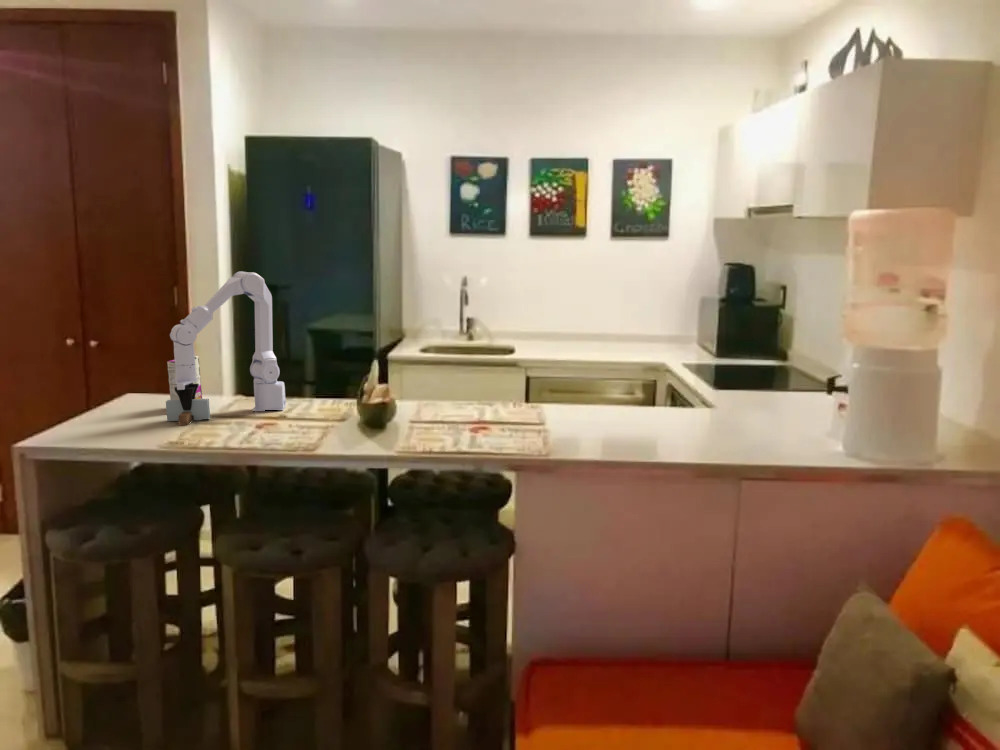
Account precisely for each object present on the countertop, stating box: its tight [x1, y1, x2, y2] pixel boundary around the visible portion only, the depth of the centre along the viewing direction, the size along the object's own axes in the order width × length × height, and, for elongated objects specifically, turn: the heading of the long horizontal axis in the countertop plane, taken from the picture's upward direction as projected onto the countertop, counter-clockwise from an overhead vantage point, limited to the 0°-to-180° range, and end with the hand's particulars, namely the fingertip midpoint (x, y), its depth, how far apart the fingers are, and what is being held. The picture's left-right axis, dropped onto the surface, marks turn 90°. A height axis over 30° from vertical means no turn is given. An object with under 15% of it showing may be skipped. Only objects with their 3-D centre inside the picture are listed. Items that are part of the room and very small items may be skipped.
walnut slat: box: [178, 412, 194, 427], centre depth 260 cm, size 2×14×3 cm, turn 6°
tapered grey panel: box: [165, 398, 211, 422], centre depth 260 cm, size 12×2×6 cm, turn 96°
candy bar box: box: [166, 355, 203, 400], centre depth 276 cm, size 11×5×16 cm, turn 168°
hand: (188, 409), depth 260 cm, fingers closed on tapered grey panel, 2 cm apart
